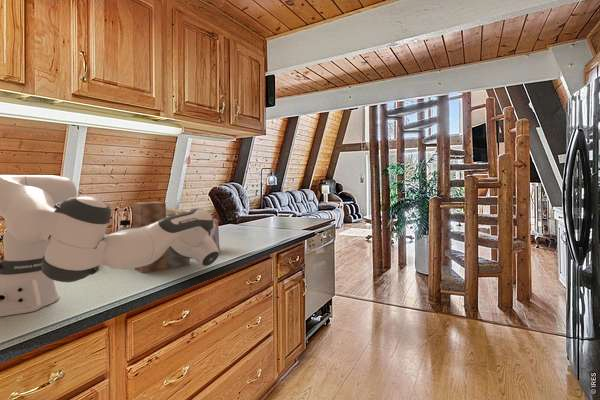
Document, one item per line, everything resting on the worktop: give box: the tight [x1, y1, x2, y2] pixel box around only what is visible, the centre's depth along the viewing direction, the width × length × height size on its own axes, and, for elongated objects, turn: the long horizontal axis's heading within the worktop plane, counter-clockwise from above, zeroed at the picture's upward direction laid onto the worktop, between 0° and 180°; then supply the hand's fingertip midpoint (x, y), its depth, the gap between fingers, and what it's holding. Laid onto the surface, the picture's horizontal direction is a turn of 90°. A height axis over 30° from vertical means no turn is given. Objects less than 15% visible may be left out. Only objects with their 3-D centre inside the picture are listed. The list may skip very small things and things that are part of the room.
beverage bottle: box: [116, 219, 133, 232], centre depth 148 cm, size 6×7×20 cm
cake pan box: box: [212, 218, 221, 253], centre depth 176 cm, size 19×5×18 cm, turn 48°
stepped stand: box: [132, 201, 191, 274], centre depth 145 cm, size 20×10×28 cm, turn 132°
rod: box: [166, 207, 190, 217], centre depth 146 cm, size 3×20×3 cm, turn 42°
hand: (181, 213), depth 141 cm, fingers closed on rod, 3 cm apart
